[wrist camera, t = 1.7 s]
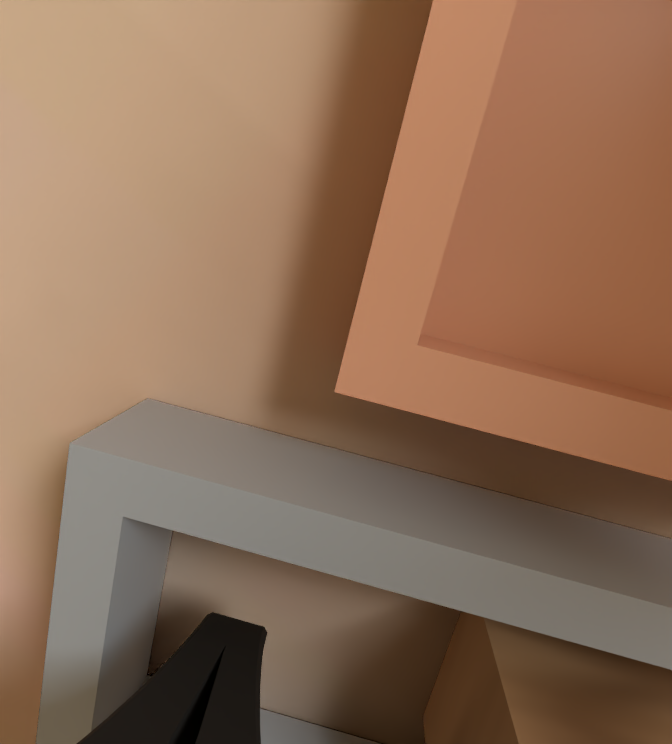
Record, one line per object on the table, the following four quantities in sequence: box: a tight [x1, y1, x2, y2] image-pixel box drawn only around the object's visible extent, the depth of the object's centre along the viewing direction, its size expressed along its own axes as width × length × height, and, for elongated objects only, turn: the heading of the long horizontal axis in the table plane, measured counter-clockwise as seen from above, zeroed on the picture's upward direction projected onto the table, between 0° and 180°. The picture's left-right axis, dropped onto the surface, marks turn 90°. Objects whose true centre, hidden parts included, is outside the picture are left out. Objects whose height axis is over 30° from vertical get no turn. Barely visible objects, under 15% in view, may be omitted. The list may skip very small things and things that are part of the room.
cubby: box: [36, 398, 672, 744], centre depth 11 cm, size 15×9×3 cm, turn 77°
